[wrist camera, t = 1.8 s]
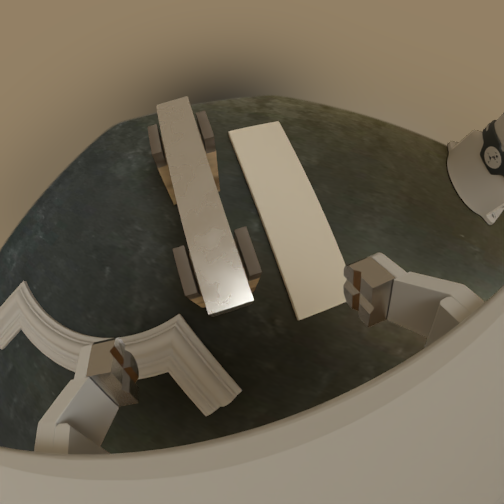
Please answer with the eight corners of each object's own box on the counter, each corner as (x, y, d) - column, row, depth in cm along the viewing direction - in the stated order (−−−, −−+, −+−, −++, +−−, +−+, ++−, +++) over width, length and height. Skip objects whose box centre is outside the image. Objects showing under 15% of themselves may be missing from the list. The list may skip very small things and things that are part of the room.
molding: (-7, 342, 28) (-18, 342, 25) (1, 274, 31) (-10, 270, 29) (238, 417, 29) (239, 425, 26) (248, 322, 32) (249, 322, 30)
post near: (243, 260, 34) (246, 226, 23) (253, 291, 33) (262, 271, 22) (192, 276, 33) (171, 249, 22) (202, 307, 32) (184, 296, 21)
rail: (191, 117, 29) (187, 96, 26) (251, 304, 24) (254, 300, 20) (162, 125, 28) (156, 105, 25) (212, 316, 23) (208, 314, 20)
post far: (212, 167, 37) (205, 110, 26) (220, 190, 36) (214, 136, 25) (168, 180, 36) (147, 127, 25) (174, 204, 35) (151, 154, 24)
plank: (277, 125, 40) (278, 121, 39) (354, 297, 33) (357, 296, 32) (228, 135, 39) (228, 131, 38) (297, 320, 32) (299, 320, 31)
